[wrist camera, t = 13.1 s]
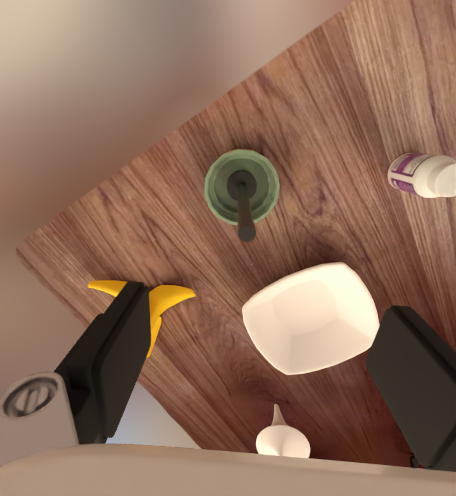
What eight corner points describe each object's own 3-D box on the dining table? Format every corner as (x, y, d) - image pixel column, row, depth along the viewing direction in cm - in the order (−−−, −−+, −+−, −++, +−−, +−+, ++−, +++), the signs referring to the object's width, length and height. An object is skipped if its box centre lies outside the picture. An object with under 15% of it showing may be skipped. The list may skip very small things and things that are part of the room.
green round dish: (209, 145, 39) (206, 146, 35) (280, 151, 39) (285, 153, 35) (205, 213, 43) (202, 222, 39) (269, 219, 43) (273, 228, 39)
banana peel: (149, 346, 55) (115, 428, 40) (94, 274, 48) (28, 340, 33) (219, 320, 52) (212, 399, 36) (170, 240, 45) (137, 295, 30)
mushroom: (244, 401, 61) (246, 459, 50) (283, 382, 58) (294, 439, 47) (269, 424, 64) (276, 484, 53) (307, 407, 61) (323, 467, 50)
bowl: (338, 235, 44) (351, 247, 39) (377, 325, 51) (392, 345, 46) (227, 287, 49) (226, 304, 44) (277, 363, 56) (281, 384, 51)
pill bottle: (423, 183, 40) (475, 197, 31) (387, 192, 41) (428, 208, 32) (423, 147, 38) (479, 150, 29) (385, 158, 39) (429, 164, 30)
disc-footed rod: (228, 168, 40) (220, 203, 19) (257, 171, 40) (279, 209, 19) (226, 197, 41) (216, 256, 21) (253, 199, 41) (270, 261, 21)
